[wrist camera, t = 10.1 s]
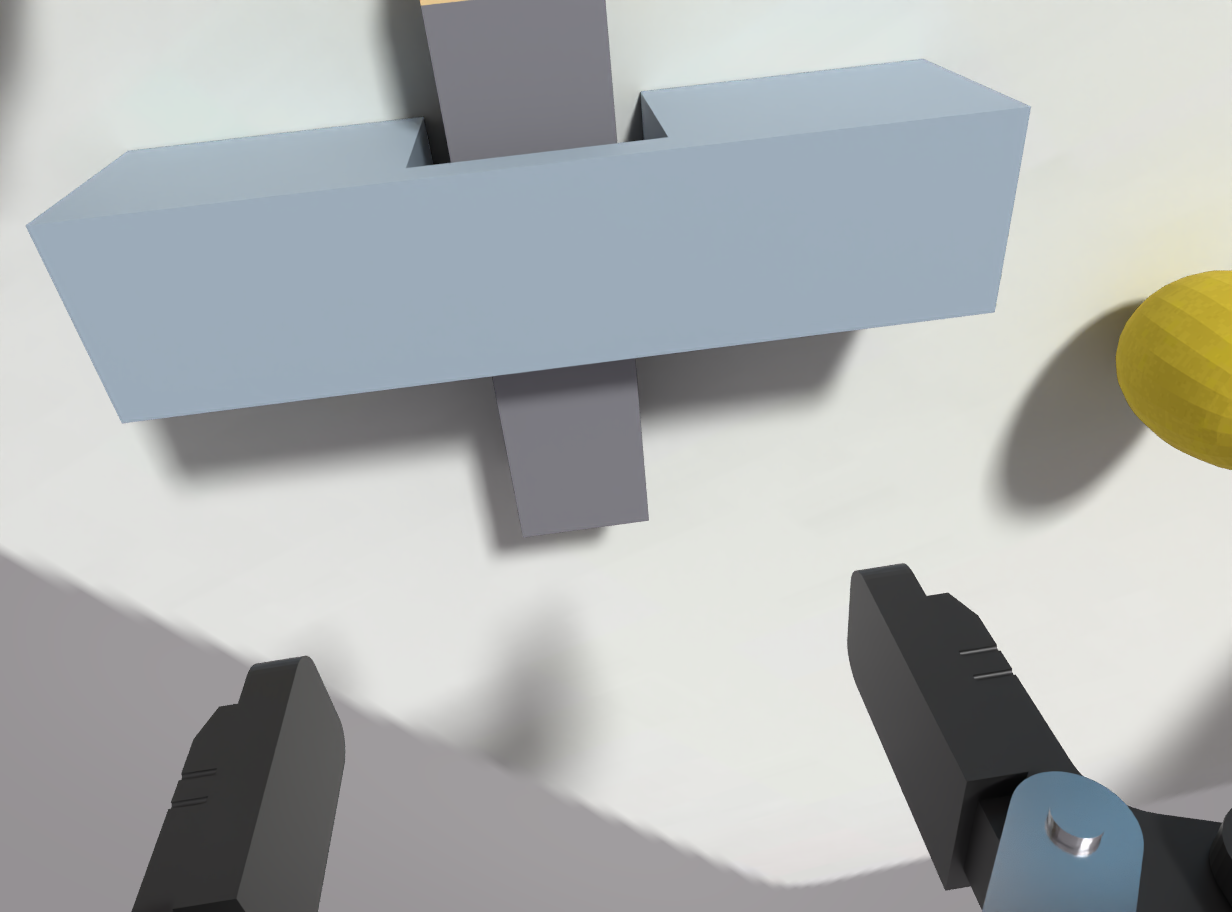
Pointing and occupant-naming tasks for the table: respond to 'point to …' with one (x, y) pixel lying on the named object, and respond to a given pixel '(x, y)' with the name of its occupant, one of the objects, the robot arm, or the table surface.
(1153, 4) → the table surface
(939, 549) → the table surface
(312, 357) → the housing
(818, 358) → the table surface
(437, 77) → the bar
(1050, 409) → the table surface
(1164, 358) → the lemon
